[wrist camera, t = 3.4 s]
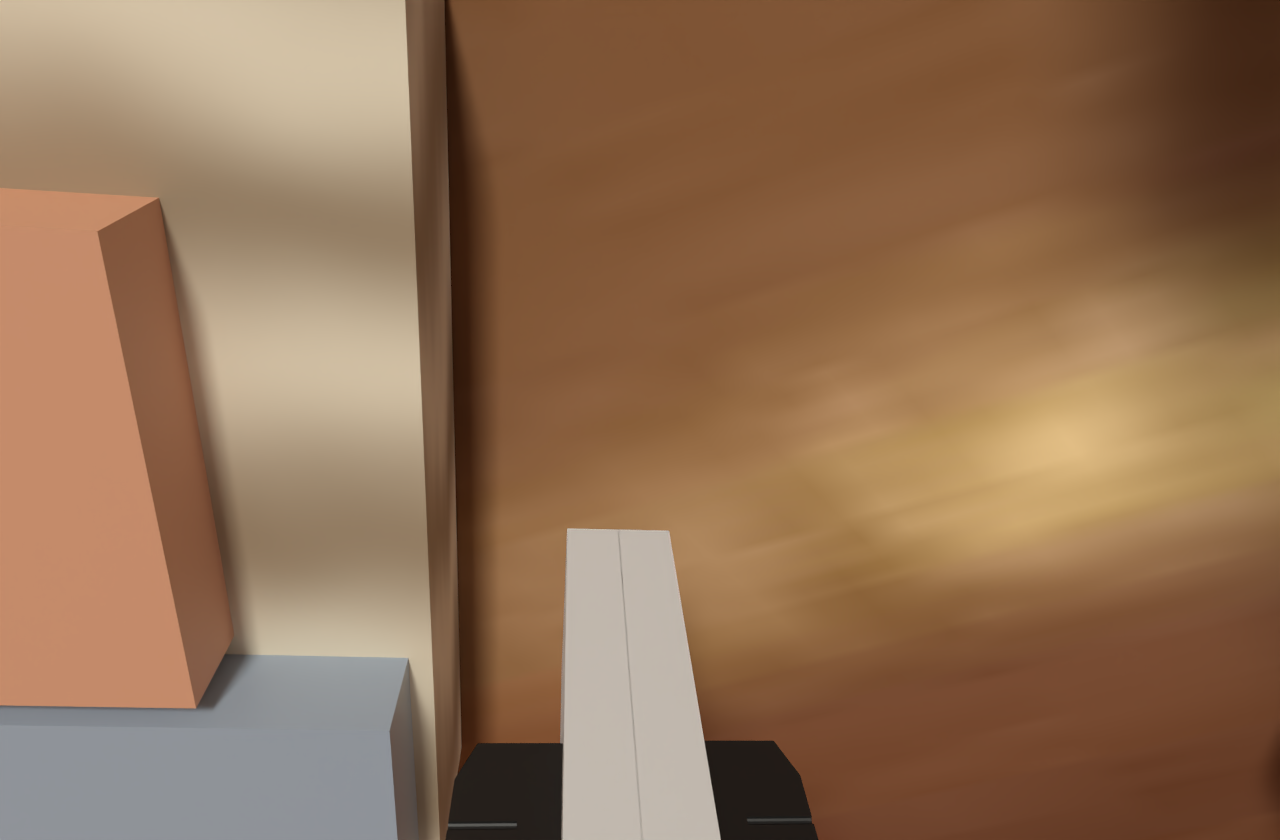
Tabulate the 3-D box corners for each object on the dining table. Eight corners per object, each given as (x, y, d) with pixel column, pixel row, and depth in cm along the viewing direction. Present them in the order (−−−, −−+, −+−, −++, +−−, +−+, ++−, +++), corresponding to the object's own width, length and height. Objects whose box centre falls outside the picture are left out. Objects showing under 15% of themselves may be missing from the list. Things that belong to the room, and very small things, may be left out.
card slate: (28, 846, 21) (-24, 928, 19) (-42, 648, 18) (-111, 723, 16) (419, 847, 21) (403, 927, 20) (408, 657, 19) (389, 730, 17)
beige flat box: (-255, -87, 15) (-506, -102, 12) (443, -29, 16) (404, -27, 13) (23, 741, 24) (-72, 873, 21) (461, 747, 25) (441, 874, 22)
